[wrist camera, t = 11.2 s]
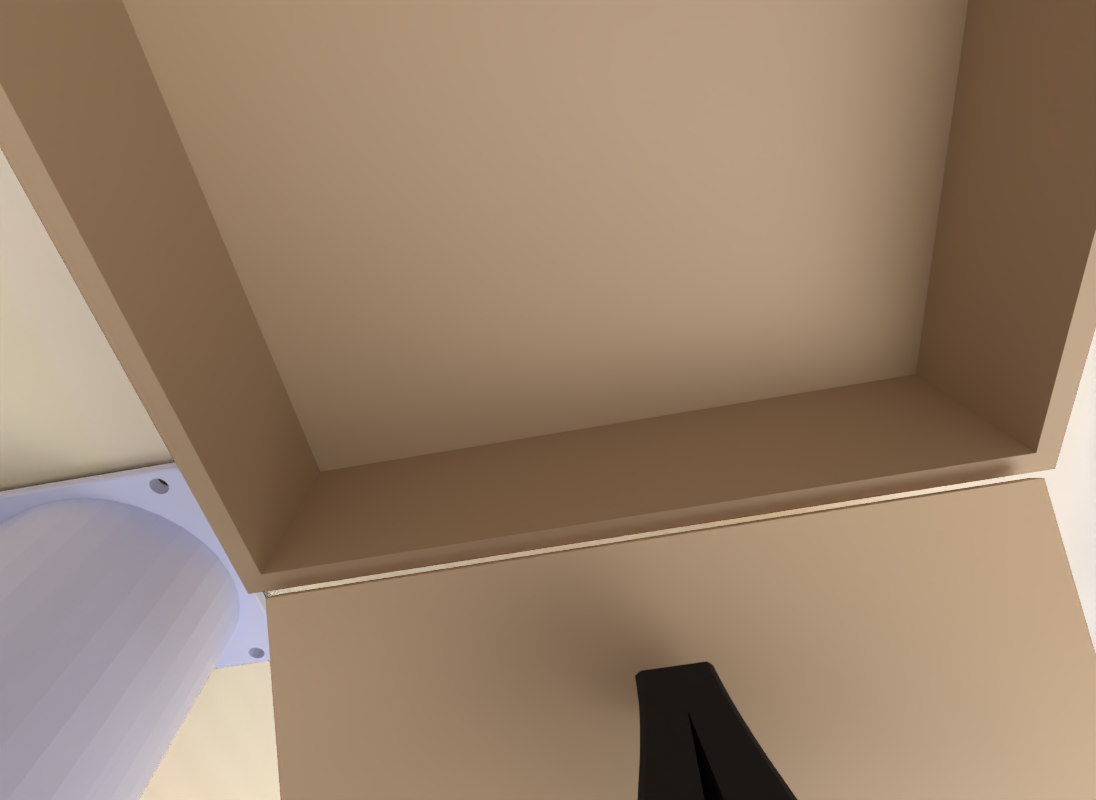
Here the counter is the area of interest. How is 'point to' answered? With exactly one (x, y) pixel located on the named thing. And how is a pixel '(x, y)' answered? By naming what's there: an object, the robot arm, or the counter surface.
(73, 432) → the counter surface
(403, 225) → the carton
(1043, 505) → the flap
